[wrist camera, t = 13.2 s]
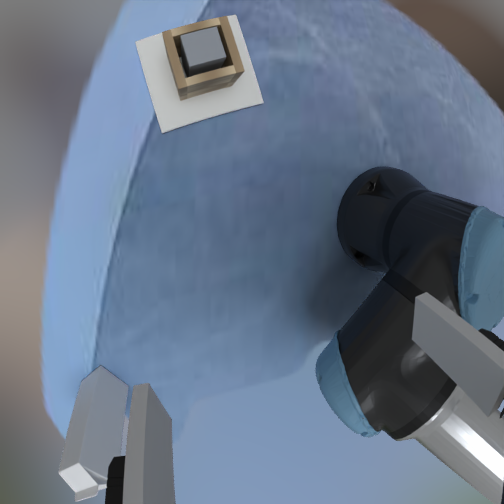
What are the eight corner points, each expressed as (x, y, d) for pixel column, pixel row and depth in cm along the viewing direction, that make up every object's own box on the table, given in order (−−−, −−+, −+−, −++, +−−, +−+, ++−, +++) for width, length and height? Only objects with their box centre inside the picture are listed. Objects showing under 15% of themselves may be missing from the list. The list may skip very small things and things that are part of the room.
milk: (81, 380, 42) (53, 491, 22) (101, 364, 42) (74, 483, 21) (109, 400, 44) (93, 510, 24) (129, 385, 44) (118, 503, 24)
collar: (217, 41, 29) (227, 15, 22) (231, 86, 31) (244, 71, 24) (166, 55, 28) (161, 32, 21) (180, 100, 31) (178, 89, 23)
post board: (233, 19, 29) (251, -19, 20) (260, 104, 34) (288, 91, 24) (137, 45, 28) (120, 13, 19) (162, 133, 33) (153, 129, 23)
